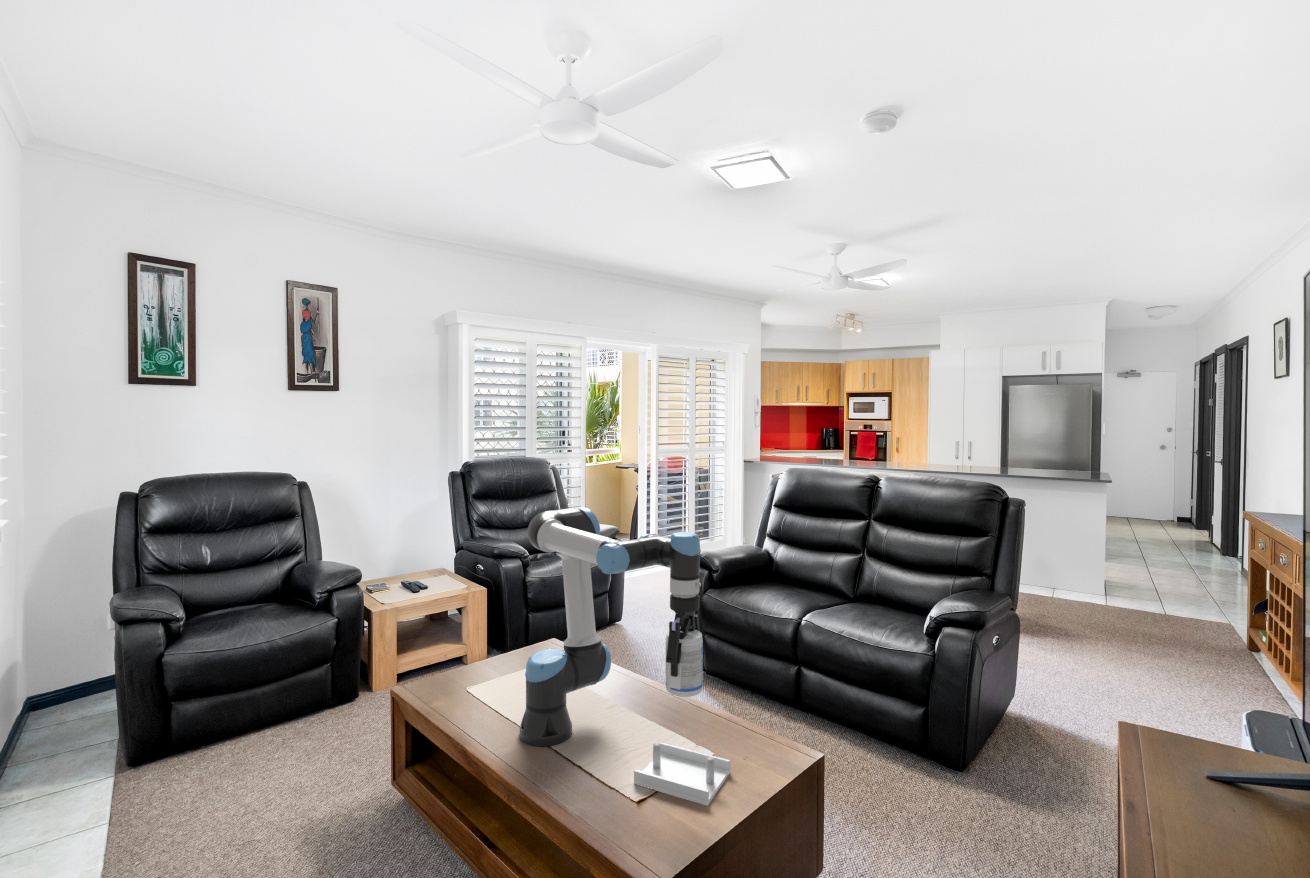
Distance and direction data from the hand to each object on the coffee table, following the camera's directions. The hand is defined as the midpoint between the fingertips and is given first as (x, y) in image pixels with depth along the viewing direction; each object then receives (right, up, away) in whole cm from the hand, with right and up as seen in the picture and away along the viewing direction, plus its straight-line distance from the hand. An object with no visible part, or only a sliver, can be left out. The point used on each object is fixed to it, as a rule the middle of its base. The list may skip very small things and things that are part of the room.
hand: (683, 680), depth 165 cm
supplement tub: (0, -3, 0) cm, 3 cm away
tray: (0, -26, +1) cm, 26 cm away
